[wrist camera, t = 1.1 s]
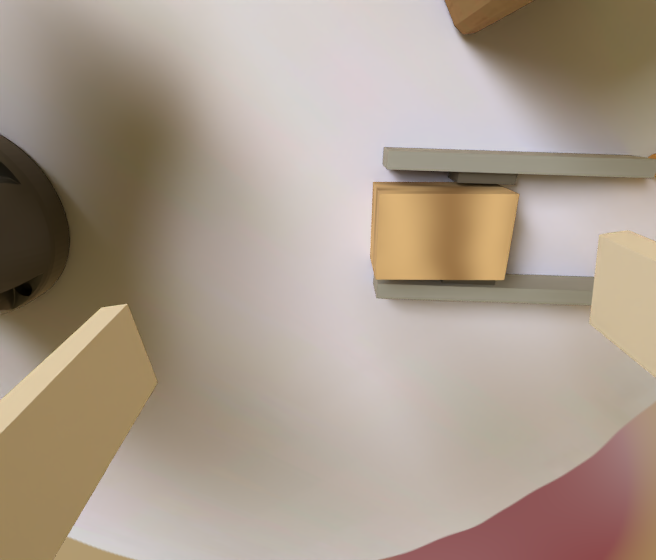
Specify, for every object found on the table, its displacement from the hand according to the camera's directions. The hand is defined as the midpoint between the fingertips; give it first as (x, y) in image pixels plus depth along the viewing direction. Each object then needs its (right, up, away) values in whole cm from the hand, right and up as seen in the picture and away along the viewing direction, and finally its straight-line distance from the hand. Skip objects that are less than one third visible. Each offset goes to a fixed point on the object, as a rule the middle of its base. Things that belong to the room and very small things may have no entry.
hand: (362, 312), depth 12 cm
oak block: (+7, +6, +21) cm, 22 cm away
